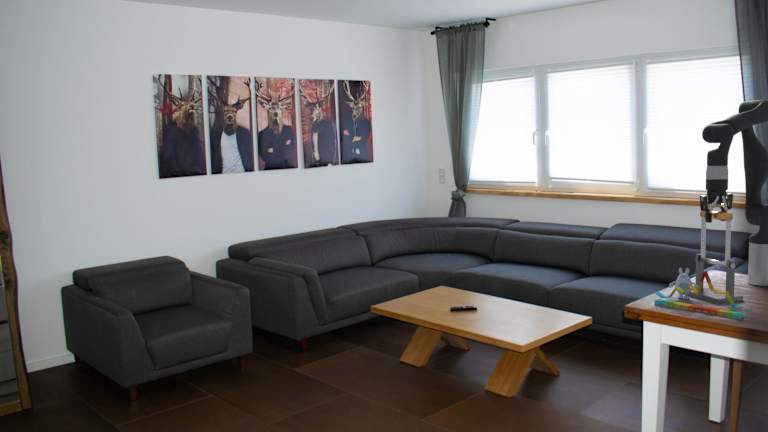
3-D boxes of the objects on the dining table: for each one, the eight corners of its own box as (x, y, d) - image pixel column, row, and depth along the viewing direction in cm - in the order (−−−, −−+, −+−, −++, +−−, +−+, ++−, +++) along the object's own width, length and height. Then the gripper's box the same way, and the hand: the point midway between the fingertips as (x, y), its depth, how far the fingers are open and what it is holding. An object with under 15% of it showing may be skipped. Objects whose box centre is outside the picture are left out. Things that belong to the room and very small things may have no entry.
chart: (654, 305, 256) (654, 266, 254) (658, 303, 258) (658, 264, 257) (739, 320, 234) (740, 277, 232) (743, 318, 236) (744, 275, 234)
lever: (704, 261, 268) (706, 209, 265) (731, 267, 255) (733, 212, 253) (698, 262, 267) (699, 210, 264) (725, 267, 254) (726, 213, 252)
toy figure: (667, 299, 263) (668, 268, 262) (669, 295, 269) (669, 265, 267) (698, 301, 258) (698, 270, 257) (698, 297, 264) (699, 267, 263)
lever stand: (708, 291, 273) (709, 252, 271) (745, 301, 256) (746, 259, 254) (684, 294, 269) (685, 254, 267) (719, 305, 252) (720, 262, 250)
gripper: (724, 176, 263) (723, 219, 265) (694, 178, 258) (693, 222, 260) (740, 177, 256) (738, 221, 258) (709, 179, 251) (708, 224, 253)
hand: (715, 221), depth 259 cm, fingers open, 6 cm apart
